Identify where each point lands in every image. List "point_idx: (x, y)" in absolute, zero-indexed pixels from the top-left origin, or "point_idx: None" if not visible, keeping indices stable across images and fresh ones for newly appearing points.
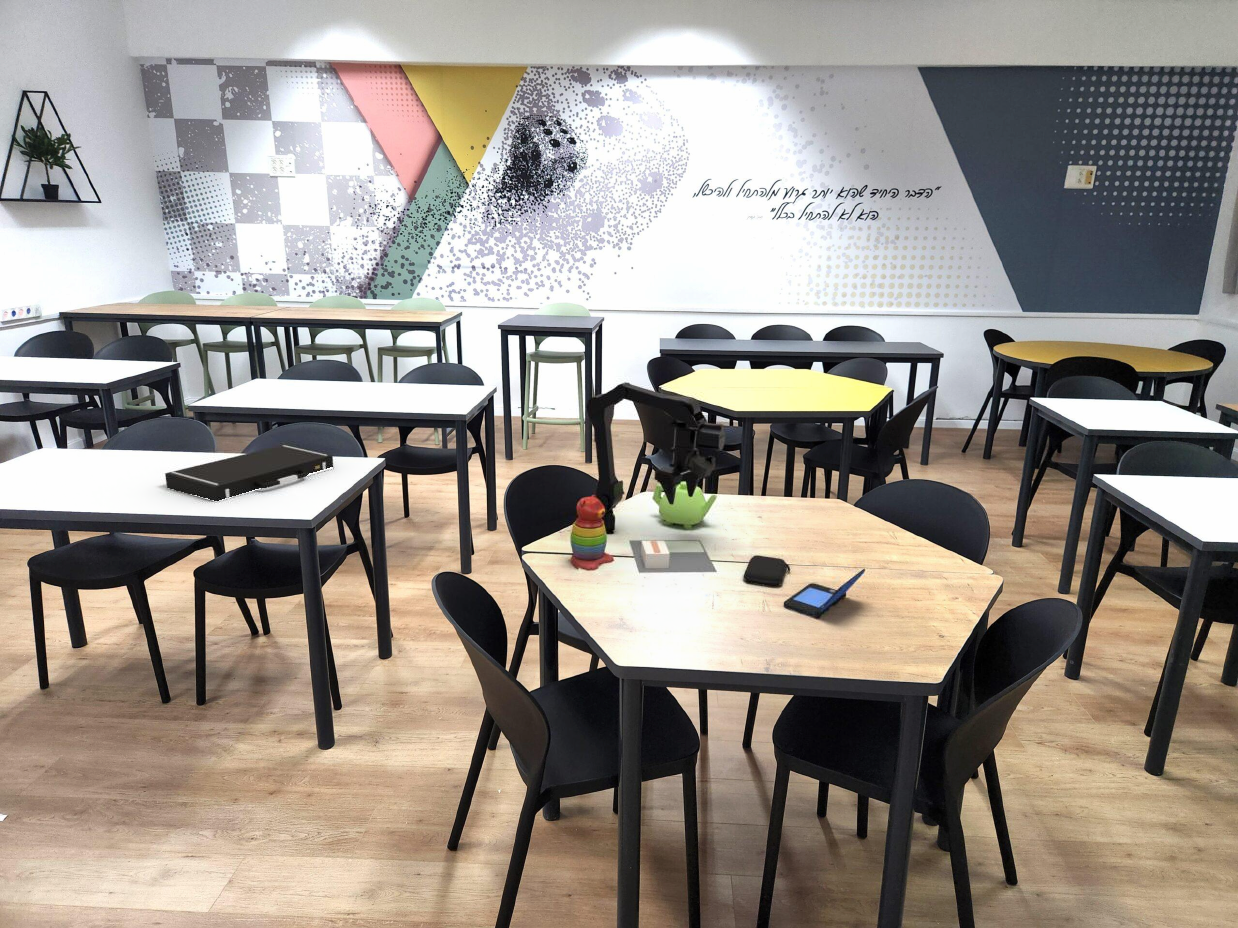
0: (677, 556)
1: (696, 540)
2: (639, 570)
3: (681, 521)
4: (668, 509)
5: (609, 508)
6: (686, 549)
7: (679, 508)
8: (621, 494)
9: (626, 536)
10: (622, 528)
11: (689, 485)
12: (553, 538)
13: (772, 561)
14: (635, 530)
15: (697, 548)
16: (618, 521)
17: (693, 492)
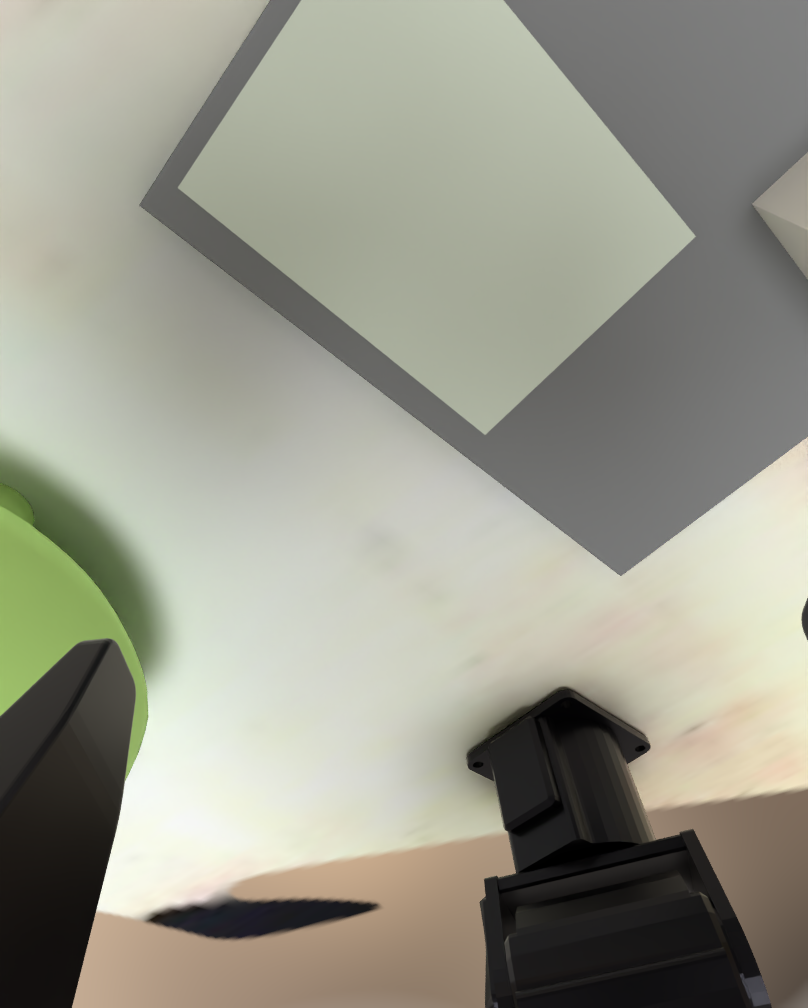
0: (718, 54)
1: (180, 225)
2: None
3: (66, 560)
4: None
5: (679, 876)
6: (486, 116)
7: (40, 675)
8: (584, 992)
9: (528, 634)
10: (430, 718)
11: (36, 954)
12: (800, 785)
13: None
14: (395, 666)
15: (366, 36)
16: (356, 784)
17: (33, 713)
